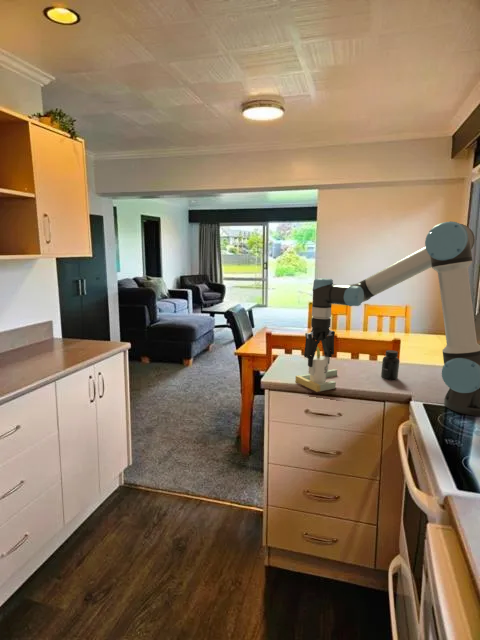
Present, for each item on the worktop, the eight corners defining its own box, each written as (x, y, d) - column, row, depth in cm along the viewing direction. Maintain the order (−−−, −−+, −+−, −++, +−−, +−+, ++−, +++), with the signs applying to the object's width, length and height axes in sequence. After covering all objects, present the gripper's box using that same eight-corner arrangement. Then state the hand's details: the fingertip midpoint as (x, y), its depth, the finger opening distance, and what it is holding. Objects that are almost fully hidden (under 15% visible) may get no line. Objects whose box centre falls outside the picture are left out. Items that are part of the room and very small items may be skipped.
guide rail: (357, 383, 168) (357, 377, 168) (316, 391, 157) (317, 385, 157) (334, 374, 180) (334, 369, 179) (295, 381, 169) (295, 375, 169)
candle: (321, 386, 162) (323, 349, 159) (307, 382, 166) (308, 347, 163) (328, 382, 167) (330, 346, 164) (314, 379, 171) (315, 344, 168)
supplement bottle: (379, 379, 175) (382, 352, 172) (382, 374, 180) (384, 348, 178) (396, 381, 171) (399, 354, 169) (398, 377, 177) (401, 350, 175)
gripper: (332, 314, 169) (329, 367, 173) (295, 317, 160) (293, 373, 164) (345, 317, 163) (342, 372, 167) (308, 320, 153) (305, 379, 157)
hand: (318, 372), depth 165 cm, fingers open, 6 cm apart
